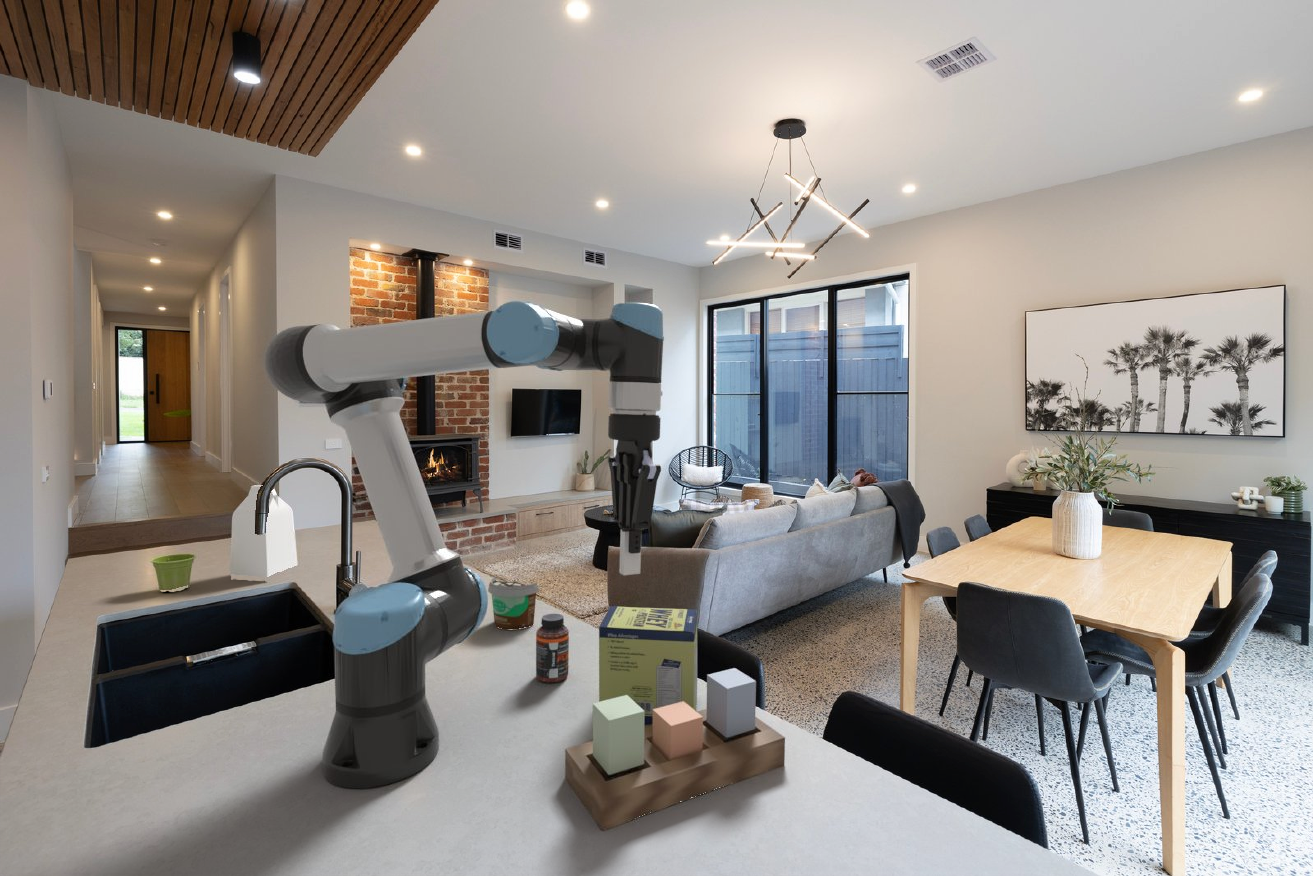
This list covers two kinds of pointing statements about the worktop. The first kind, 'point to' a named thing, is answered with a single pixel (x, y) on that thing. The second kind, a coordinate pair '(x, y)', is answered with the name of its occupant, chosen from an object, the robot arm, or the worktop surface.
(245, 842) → the worktop surface
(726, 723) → the slate upright cuboid
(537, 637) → the supplement bottle
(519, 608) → the food container
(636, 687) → the protein box
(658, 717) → the peach rectangular prism
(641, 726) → the sage rectangular block
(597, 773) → the walnut board
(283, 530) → the milk
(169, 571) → the plant pot
